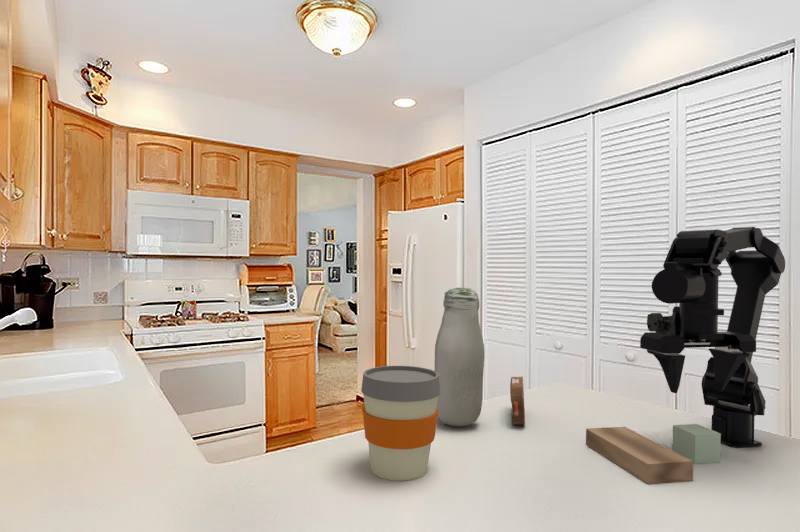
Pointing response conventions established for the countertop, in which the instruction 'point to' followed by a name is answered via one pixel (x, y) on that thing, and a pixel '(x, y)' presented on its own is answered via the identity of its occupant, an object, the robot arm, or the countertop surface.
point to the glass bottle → (460, 359)
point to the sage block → (696, 443)
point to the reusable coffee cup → (400, 419)
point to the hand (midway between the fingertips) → (696, 391)
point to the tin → (517, 401)
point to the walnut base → (640, 455)
